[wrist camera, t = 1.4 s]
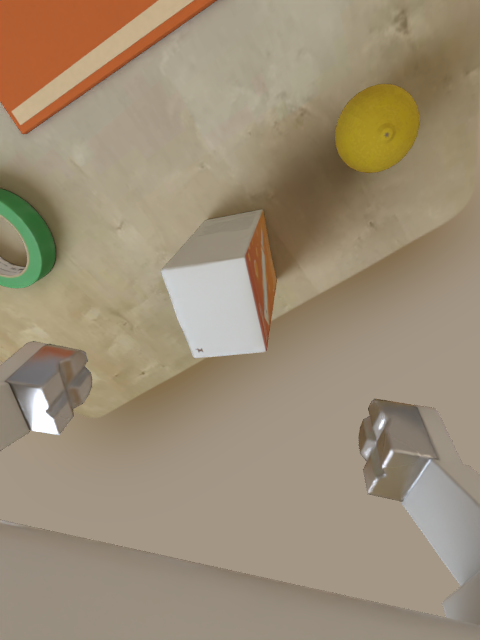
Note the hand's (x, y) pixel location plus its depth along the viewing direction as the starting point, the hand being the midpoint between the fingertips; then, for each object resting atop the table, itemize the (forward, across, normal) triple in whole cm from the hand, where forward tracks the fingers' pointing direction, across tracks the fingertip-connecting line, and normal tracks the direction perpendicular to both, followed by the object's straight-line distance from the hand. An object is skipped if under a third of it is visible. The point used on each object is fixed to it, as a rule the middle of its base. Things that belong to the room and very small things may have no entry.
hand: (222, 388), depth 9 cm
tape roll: (+26, +30, +8) cm, 41 cm away
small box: (+26, +3, +6) cm, 27 cm away
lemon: (+26, -7, -6) cm, 28 cm away
